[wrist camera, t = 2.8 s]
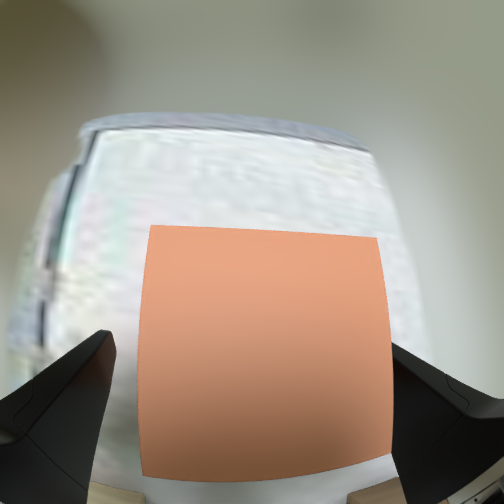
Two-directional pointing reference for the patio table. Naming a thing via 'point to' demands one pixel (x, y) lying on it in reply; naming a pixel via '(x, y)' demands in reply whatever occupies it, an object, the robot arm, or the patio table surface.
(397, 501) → the walnut block
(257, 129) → the patio table surface
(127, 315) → the patio table surface
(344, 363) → the salmon orange block
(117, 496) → the birch block
